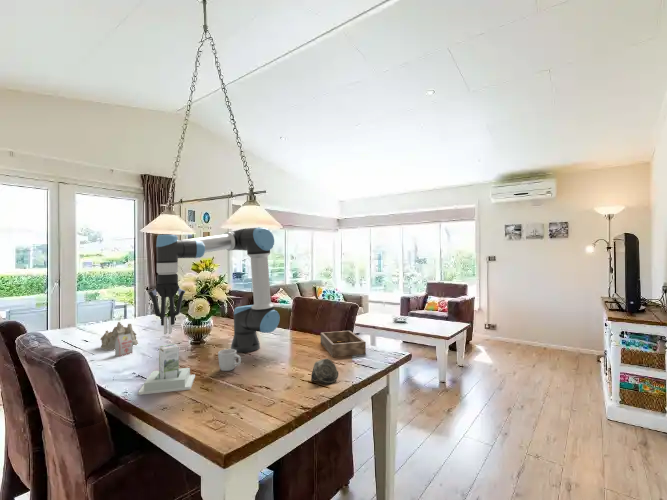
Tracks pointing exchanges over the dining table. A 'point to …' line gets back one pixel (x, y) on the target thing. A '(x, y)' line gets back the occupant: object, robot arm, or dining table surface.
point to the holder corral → (343, 349)
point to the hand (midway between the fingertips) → (168, 333)
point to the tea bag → (123, 345)
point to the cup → (228, 359)
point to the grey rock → (111, 337)
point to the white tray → (167, 383)
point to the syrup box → (168, 361)
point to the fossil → (324, 371)
